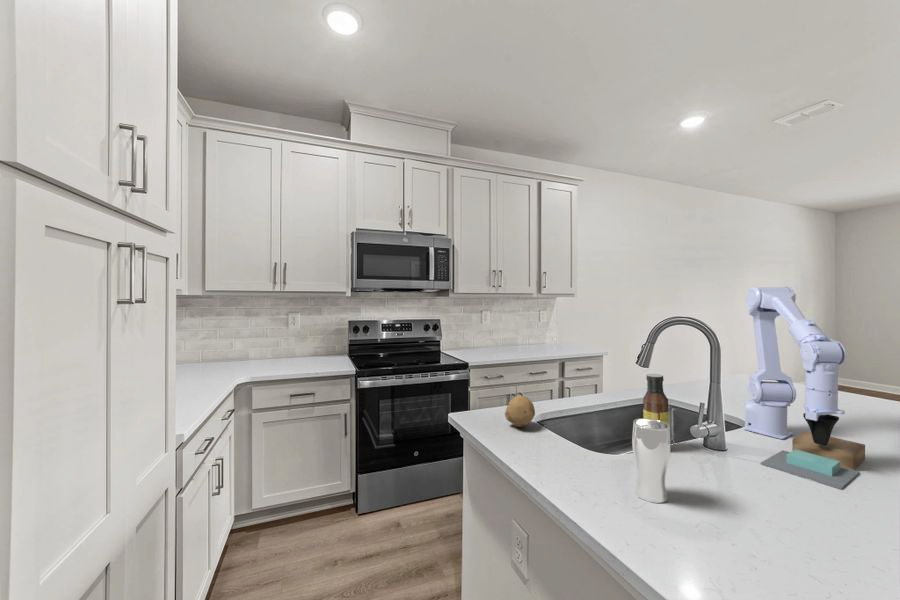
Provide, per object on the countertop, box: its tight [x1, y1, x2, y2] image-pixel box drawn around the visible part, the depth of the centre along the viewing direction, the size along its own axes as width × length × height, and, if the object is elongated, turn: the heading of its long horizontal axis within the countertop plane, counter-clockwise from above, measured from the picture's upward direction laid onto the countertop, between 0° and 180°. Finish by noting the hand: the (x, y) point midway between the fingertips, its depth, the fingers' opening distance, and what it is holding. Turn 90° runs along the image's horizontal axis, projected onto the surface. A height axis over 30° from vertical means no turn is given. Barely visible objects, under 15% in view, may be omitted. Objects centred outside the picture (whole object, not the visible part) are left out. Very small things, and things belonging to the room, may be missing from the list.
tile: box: [786, 449, 840, 476], centre depth 90 cm, size 8×6×2 cm
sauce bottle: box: [642, 373, 671, 433], centre depth 101 cm, size 6×6×20 cm
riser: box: [791, 430, 866, 470], centre depth 95 cm, size 11×10×4 cm
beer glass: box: [631, 418, 671, 504], centre depth 77 cm, size 7×7×15 cm
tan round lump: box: [504, 395, 536, 429], centre depth 116 cm, size 9×9×10 cm
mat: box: [760, 450, 861, 490], centre depth 89 cm, size 14×14×1 cm
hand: (820, 443), depth 92 cm, fingers closed
